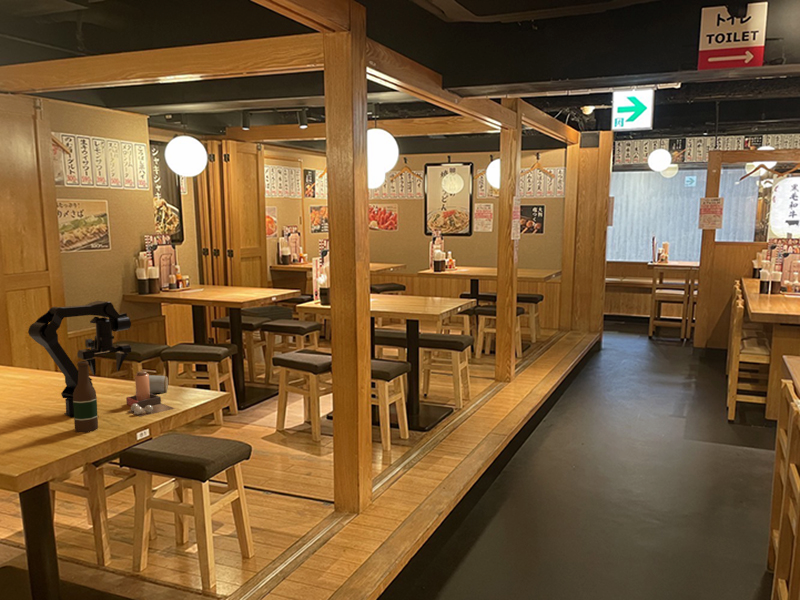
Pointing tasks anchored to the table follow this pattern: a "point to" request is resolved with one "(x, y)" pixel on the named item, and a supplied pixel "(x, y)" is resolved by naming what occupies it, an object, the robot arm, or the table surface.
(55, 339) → the robot arm
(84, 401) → the beer bottle
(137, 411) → the pebble
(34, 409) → the table surface
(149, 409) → the pebble
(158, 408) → the board
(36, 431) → the table surface
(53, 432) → the table surface
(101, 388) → the table surface
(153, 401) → the lacquer box
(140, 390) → the canister
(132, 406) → the pebble
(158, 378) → the ceramic mug
